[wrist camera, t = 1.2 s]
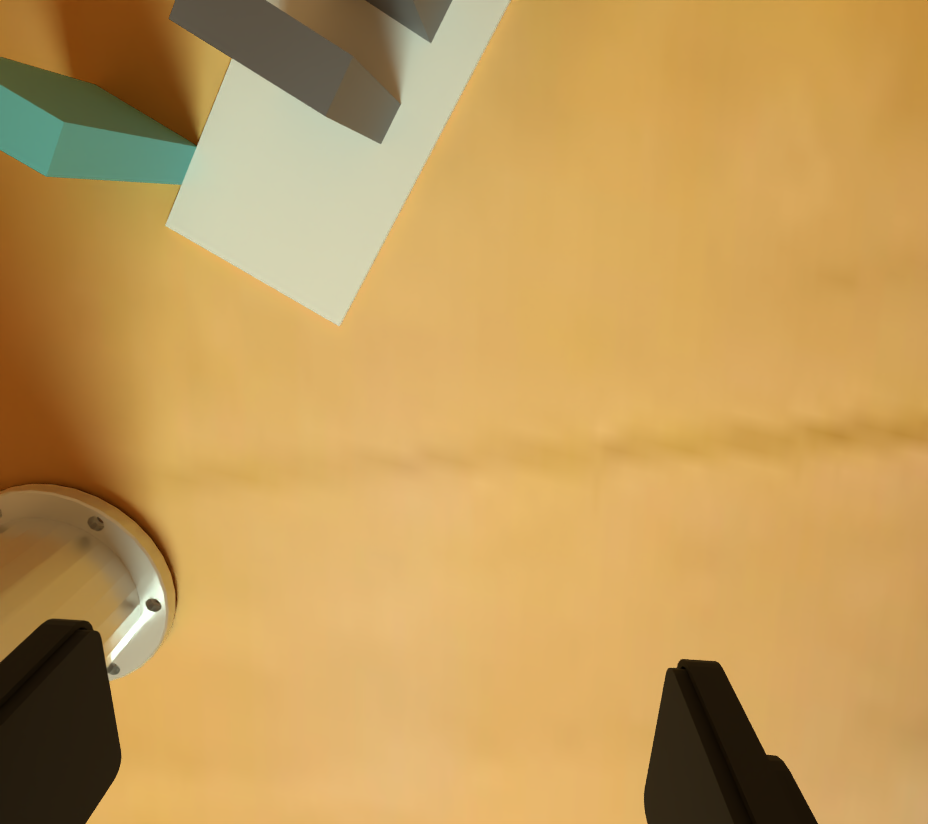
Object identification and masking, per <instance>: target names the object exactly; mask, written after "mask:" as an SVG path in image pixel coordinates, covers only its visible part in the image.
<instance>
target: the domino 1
mask: <svg viewBox="0 0 928 824" xmlns="http://www.w3.org/2000/svg"><path fill="white" fill-rule="evenodd" d="M196 147H197V145H195V144H193V143H192V142H190V141H188V140H187V139H185V138H183V137H182V136H180V135H178V134H177V133H175V132H173V131H172V130H170V129H168V128H167V127H165V126H163V125H162V124H160V123H158V122H157V121H155V120H153V119H152V118H150V117H148V116H147V115H145V114H143V113H142V112H140V111H138V110H137V109H135V108H133V107H132V106H130V105H128V104H127V103H125V102H123V101H122V100H120V99H118V98H117V97H115V96H113V95H112V94H110V93H108V92H107V91H105V90H103V89H102V88H100V87H98V86H97V85H95V84H91V83H88V82H85V81H81V80H78V79H74V78H71V77H68V76H64V75H61V74H57V73H54V72H51V71H47V70H44V69H40V68H37V67H34V66H30V65H27V64H23V63H20V62H17V61H13V60H10V59H6V58H3V57H0V150H1V151H3V152H4V153H6V154H8V155H10V156H11V157H13V158H15V159H17V160H18V161H20V162H22V163H24V164H25V165H27V166H29V167H31V168H32V169H34V170H36V171H37V172H39V173H41V174H43V175H44V176H46V177H61V178H78V179H95V180H112V181H129V182H145V183H162V184H179V185H182V182H183V180H184V177H185V175H186V172H187V170H188V167H189V165H190V162H191V160H192V157H193V155H194V152H195V150H196Z"/></svg>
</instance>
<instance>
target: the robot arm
mask: <svg viewBox="0 0 928 824" xmlns="http://www.w3.org/2000/svg"><path fill="white" fill-rule="evenodd" d="M175 610H176V608H175V589H174V585H173V580H172V576H171V573H170V571H169V569H168V566H167V564H166V562H165V560H164V557H163V555H162V554H161V552H160V551H159V550H158V548H157V547H156V545H155V544H154V542H153V541H152V539H151V538H150V537H149V536H148V535H147V534H146V533H145V532H144V531H143V530H142V528H141V527H140V526H139V525H138V524H137V523H136V522H135V521H133V520H132V519H131V518H129V517H128V516H127V515H126V514H124V513H123V512H122V511H120V510H119V509H118V508H116V507H114V506H113V505H111V504H109V503H107V502H105V501H104V500H102V499H100V498H98V497H96V496H93V495H91V494H88V493H85V492H83V491H80V490H77V489H74V488H69V487H64V486H59V485H54V484H27V485H21V486H15V487H10V488H8V489H5V490H3V491H0V824H86V822H87V820H88V819H89V817H90V816H91V814H92V813H93V811H94V810H95V808H96V807H97V805H98V804H99V802H100V801H101V799H102V798H103V796H104V795H105V793H106V792H107V790H108V789H109V787H110V785H111V784H112V782H113V781H114V779H115V777H116V775H117V773H118V770H119V767H120V763H121V749H120V743H119V737H118V731H117V725H116V720H115V714H114V708H113V702H112V696H111V690H110V685H109V681H112V680H115V679H118V678H121V677H124V676H127V675H128V674H130V673H132V672H134V671H136V670H137V669H139V668H141V667H142V666H143V665H144V664H145V663H146V662H147V661H148V660H149V659H151V658H152V657H153V655H154V654H155V653H156V651H157V650H158V649H159V647H160V646H161V645H162V644H163V642H164V641H165V639H166V637H167V635H168V633H169V631H170V629H171V627H172V624H173V619H174V615H175ZM644 807H645V814H646V819H647V823H648V824H818V823H817V821H816V819H815V817H814V815H813V814H812V812H811V810H810V808H809V806H808V804H807V802H806V800H805V799H804V797H803V795H802V793H801V791H800V789H799V787H798V785H797V784H796V782H795V780H794V778H793V776H792V774H791V772H790V771H789V769H788V768H787V766H786V765H785V763H784V762H783V761H782V760H781V759H780V758H779V757H778V756H773V755H766V753H765V751H764V749H763V747H762V745H761V743H760V741H759V739H758V737H757V735H756V733H755V731H754V729H753V728H752V726H751V724H750V722H749V720H748V718H747V716H746V714H745V712H744V710H743V708H742V706H741V704H740V702H739V700H738V698H737V696H736V694H735V692H734V690H733V688H732V686H731V684H730V682H729V680H728V678H727V676H726V674H725V672H724V670H723V668H722V667H721V665H720V664H719V663H718V662H716V661H703V660H688V659H682V660H680V661H679V663H678V666H677V668H668V670H667V672H666V676H665V682H664V687H663V693H662V698H661V703H660V709H659V714H658V720H657V725H656V730H655V736H654V741H653V747H652V752H651V758H650V763H649V768H648V774H647V779H646V785H645V791H644Z"/></svg>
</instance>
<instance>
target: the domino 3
mask: <svg viewBox="0 0 928 824" xmlns="http://www.w3.org/2000/svg"><path fill="white" fill-rule="evenodd" d="M365 1H367V2H368V3H370V4H371V5H373V6H375V7H376V8H378V9H379V10H381V11H382V12H384V13H385V14H387V15H388V16H390V17H391V18H393V19H394V20H396V21H397V22H399V23H400V24H402V25H404V26H405V27H407V28H408V29H410V30H411V31H413V32H414V33H416V34H417V35H419V36H420V37H422V38H423V39H425V40H426V41H428V42H430V43H432V41H433V39H434V37H435V35H436V33H437V31H438V29H439V26H440V24H441V22H442V20H443V18H444V16H445V14H446V12H447V10H448V8H449V6H450V4H451V2H452V0H365Z"/></svg>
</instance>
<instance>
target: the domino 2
mask: <svg viewBox="0 0 928 824" xmlns="http://www.w3.org/2000/svg"><path fill="white" fill-rule="evenodd" d="M169 19H170V20H171V21H173V22H174V23H176V24H178V25H179V26H181V27H183V28H184V29H186V30H187V31H189V32H191V33H192V34H194V35H195V36H197V37H199V38H200V39H202V40H203V41H205V42H207V43H208V44H210V45H211V46H213V47H215V48H216V49H218V50H219V51H221V52H223V53H224V54H226V55H227V56H229V57H231V58H232V59H234V60H235V61H237V62H239V63H240V64H242V65H243V66H245V67H247V68H248V69H250V70H252V71H253V72H255V73H256V74H258V75H260V76H261V77H263V78H264V79H266V80H268V81H269V82H271V83H272V84H274V85H276V86H277V87H279V88H280V89H282V90H284V91H285V92H287V93H288V94H290V95H292V96H293V97H295V98H296V99H298V100H300V101H301V102H303V103H304V104H306V105H308V106H309V107H311V108H312V109H314V110H316V111H317V112H319V113H321V114H322V115H324V116H325V117H327V118H329V119H331V120H333V121H335V122H337V123H339V124H341V125H343V126H345V127H347V128H349V129H351V130H353V131H355V132H357V133H359V134H361V135H363V136H365V137H367V138H369V139H371V140H373V141H375V142H377V143H379V144H382V142H383V139H384V137H385V135H386V133H387V131H388V129H389V127H390V125H391V123H392V121H393V119H394V117H395V115H396V113H397V111H398V109H399V107H400V105H401V104H400V103H399V102H398V101H397V100H396V99H395V98H394V97H393V96H392V95H391V94H390V93H389V92H388V91H387V90H386V89H385V88H384V87H383V86H382V85H381V84H380V83H379V82H378V81H377V80H376V79H375V78H374V77H373V76H372V75H371V74H370V73H369V72H368V71H367V70H366V69H365V68H364V67H363V66H362V65H361V64H360V63H359V62H358V61H357V60H356V59H355V57H354V56H352V55H351V54H349V53H347V52H346V51H344V50H343V49H341V48H340V47H338V46H337V45H335V44H333V43H332V42H330V41H329V40H327V39H326V38H324V37H322V36H321V35H319V34H318V33H316V32H315V31H313V30H312V29H310V28H308V27H307V26H305V25H304V24H302V23H301V22H299V21H298V20H296V19H294V18H293V17H291V16H290V15H288V14H287V13H285V12H283V11H282V10H280V9H279V8H277V7H276V6H274V5H273V4H271V3H269V2H268V1H266V0H175V3H174V5H173V8H172V11H171V14H170V17H169Z"/></svg>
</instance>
